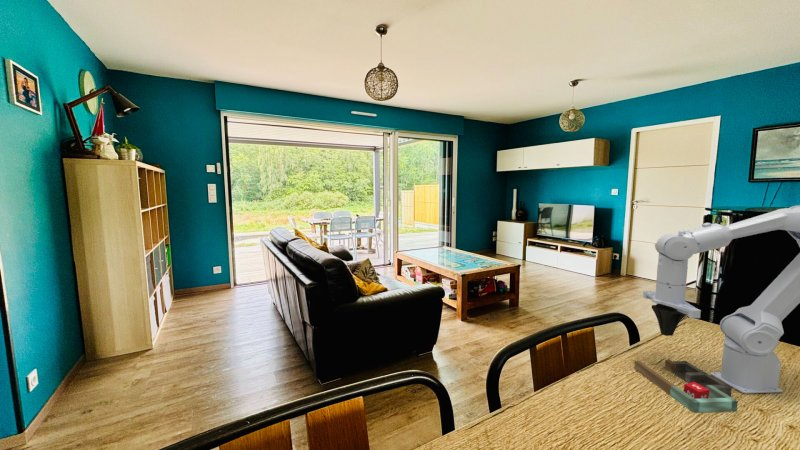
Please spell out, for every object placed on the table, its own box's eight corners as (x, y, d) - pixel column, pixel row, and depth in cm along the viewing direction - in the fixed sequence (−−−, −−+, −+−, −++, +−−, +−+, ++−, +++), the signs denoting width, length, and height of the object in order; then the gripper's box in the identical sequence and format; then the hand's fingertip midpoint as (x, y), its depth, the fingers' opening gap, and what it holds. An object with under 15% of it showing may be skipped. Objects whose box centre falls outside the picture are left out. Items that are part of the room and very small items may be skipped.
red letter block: (683, 396, 74) (684, 383, 73) (693, 394, 74) (694, 381, 74) (697, 404, 71) (698, 391, 70) (708, 402, 71) (709, 389, 71)
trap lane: (682, 367, 85) (683, 359, 85) (753, 410, 69) (754, 400, 68) (634, 368, 85) (634, 360, 85) (693, 412, 68) (694, 402, 68)
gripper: (633, 275, 88) (630, 323, 89) (681, 292, 74) (676, 348, 75) (658, 274, 88) (655, 322, 90) (711, 291, 74) (706, 348, 75)
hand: (666, 334), depth 82 cm, fingers closed
